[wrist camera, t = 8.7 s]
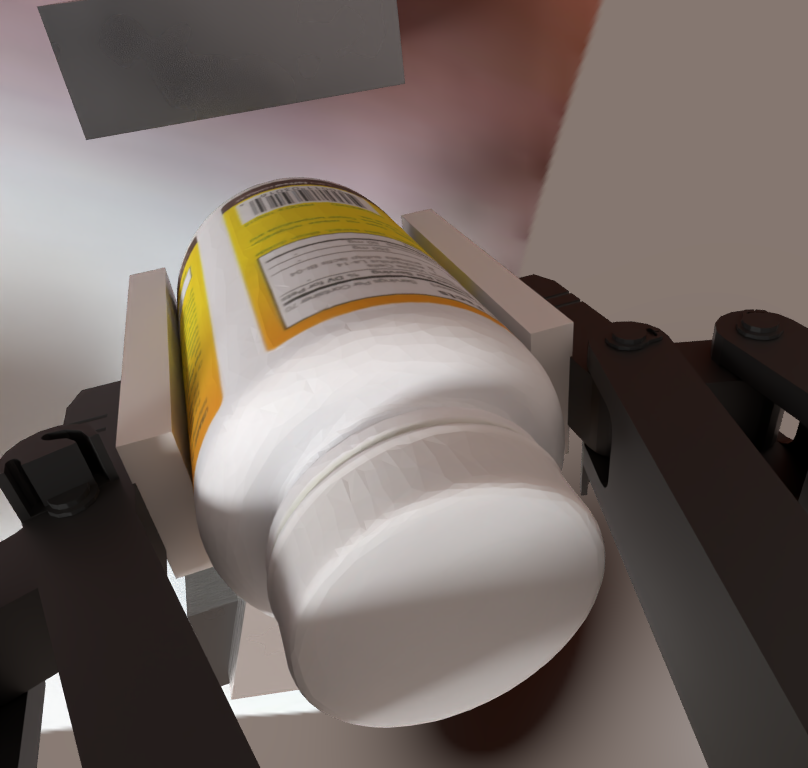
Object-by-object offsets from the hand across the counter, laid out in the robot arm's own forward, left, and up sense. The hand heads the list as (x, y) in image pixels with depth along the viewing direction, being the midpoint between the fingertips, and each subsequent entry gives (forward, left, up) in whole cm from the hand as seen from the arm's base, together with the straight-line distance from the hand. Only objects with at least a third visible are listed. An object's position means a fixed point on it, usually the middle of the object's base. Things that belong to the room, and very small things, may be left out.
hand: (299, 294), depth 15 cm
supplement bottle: (0, 0, -1) cm, 1 cm away
